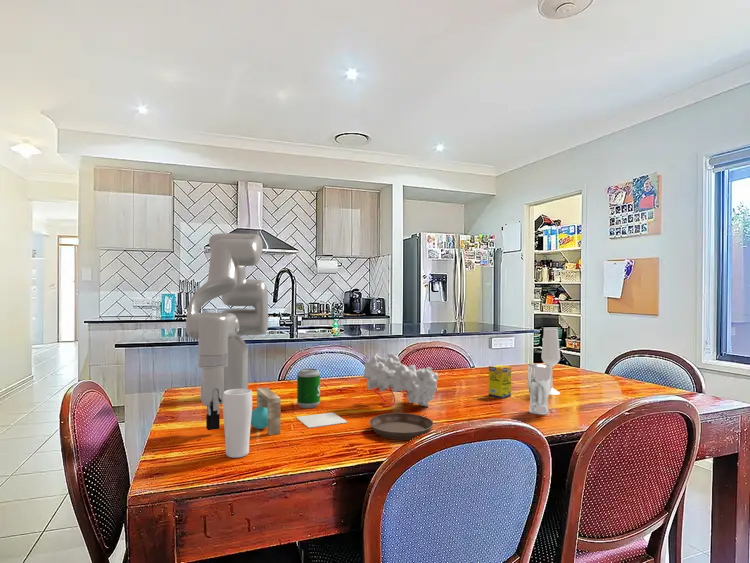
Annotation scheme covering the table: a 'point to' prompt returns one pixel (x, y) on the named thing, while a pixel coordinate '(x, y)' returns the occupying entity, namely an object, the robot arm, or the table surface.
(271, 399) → the bridge
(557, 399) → the table surface
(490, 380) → the supplement box
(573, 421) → the table surface
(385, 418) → the plant saucer
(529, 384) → the white vase
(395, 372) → the molecular structure model
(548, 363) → the champagne flute
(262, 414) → the ball
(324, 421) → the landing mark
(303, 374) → the soda can
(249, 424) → the drinking glass
